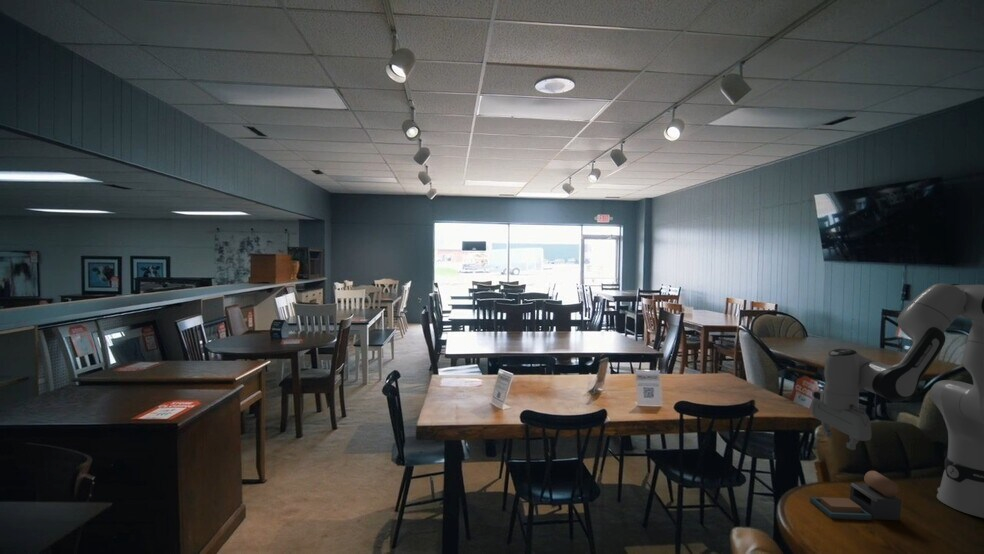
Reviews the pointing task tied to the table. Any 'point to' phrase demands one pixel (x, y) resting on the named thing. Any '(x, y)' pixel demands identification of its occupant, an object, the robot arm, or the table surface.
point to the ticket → (840, 505)
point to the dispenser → (877, 496)
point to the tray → (833, 515)
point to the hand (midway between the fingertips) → (839, 442)
